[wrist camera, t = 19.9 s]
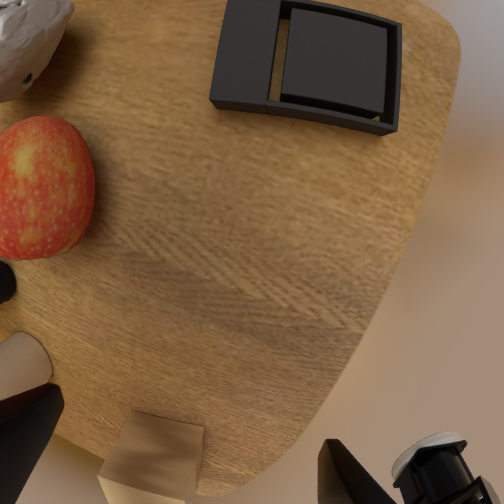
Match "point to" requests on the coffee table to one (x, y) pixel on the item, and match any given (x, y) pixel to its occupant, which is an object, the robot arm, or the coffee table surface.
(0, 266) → the film camera
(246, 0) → the black tray
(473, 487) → the robot arm
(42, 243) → the apple
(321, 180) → the coffee table surface
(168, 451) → the beige wooden block
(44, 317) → the coffee table surface
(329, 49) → the black block
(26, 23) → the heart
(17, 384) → the candle
